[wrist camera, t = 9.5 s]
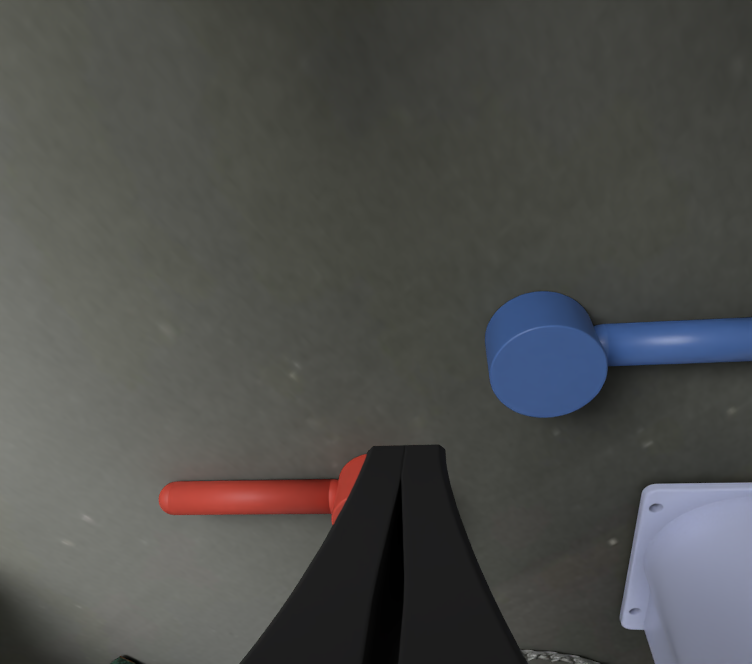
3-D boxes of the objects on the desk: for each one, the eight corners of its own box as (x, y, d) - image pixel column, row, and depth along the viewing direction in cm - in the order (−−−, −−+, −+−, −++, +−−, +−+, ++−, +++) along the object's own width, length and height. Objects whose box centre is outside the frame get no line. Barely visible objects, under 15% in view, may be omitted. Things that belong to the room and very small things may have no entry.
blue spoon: (866, 272, 18) (916, 308, 16) (830, 368, 19) (871, 410, 18) (484, 293, 19) (489, 328, 17) (485, 379, 21) (489, 419, 19)
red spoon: (179, 513, 27) (160, 553, 25) (154, 456, 25) (131, 496, 23) (426, 511, 25) (425, 554, 23) (420, 450, 23) (418, 492, 21)
